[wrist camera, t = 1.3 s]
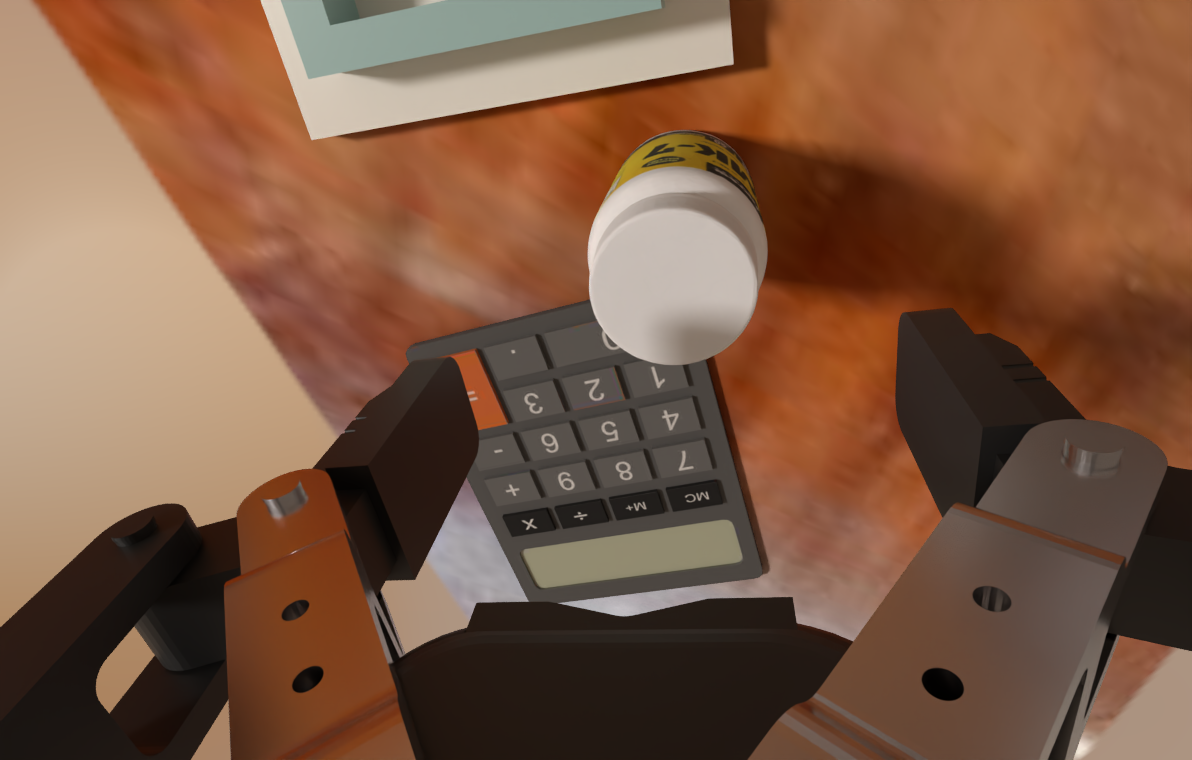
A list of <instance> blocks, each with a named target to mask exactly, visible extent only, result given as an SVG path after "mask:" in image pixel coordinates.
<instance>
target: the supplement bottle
mask: <svg viewBox="0 0 1192 760" xmlns="http://www.w3.org/2000/svg"><path fill="white" fill-rule="evenodd" d="M767 255H768V246H767V237H766V231H765V227H764V224H763V220H762V217H761V213H760V209H759V205H758V201H757V197H756V194H755V189H754V185H753V181H752V179H751V176H750V174H749V171H748V169H747V167H746V165H745V164H744V162H743V160H742V159H741V158H740V156H739V155H738V154H737V153H736V151H735V150H734V149H733V148H732V147H730V146H729V145H728V144H727V143H725V142H724V141H722V140H721V139H719V138H717V137H715V136H713V135H710V134H707V133H704V132H699V131H693V130H677V131H670V132H666V133H662V134H659V135H657V136H655V137H652V138H651V139H649V140H647V141H646V142H644V143H643V144H641V145H640V146H639V147H638V148H637V149H635V150H634V151H633V153H632V154H631V155H630V156H629V157H628V158H627V160H626V161H625V162H624V164H623V165H622V167H621V168H620V170H619V172H618V174H617V176H616V178H615V180H614V182H613V184H612V186H611V188H610V190H609V192H608V194H607V196H606V198H605V200H604V202H603V203H602V205H601V207H600V209H599V211H598V213H597V215H596V217H595V219H594V222H593V225H592V229H591V232H590V237H589V243H588V265H589V271H590V278H589V293H590V301H591V304H592V308H593V312H594V314H595V316H596V319H597V321H598V323H599V324H600V326H601V327H602V329H603V330H604V332H605V333H606V334H607V335H608V337H609V338H610V339H611V340H612V341H613V342H614V343H615V344H617V345H618V346H619V347H620V348H622V349H623V350H625V351H626V352H628V353H629V354H631V355H633V356H635V357H637V358H639V359H642V360H646V361H649V362H652V363H657V364H663V365H684V364H691V363H695V362H699V361H701V360H704V359H708V358H710V357H712V356H714V355H716V354H718V353H720V352H721V351H723V350H724V349H725V348H727V347H728V346H729V345H731V344H732V343H733V342H734V341H735V340H736V339H737V338H738V337H739V336H740V334H741V333H742V332H743V331H744V329H745V328H746V326H747V324H748V323H749V321H750V319H751V317H752V315H753V312H754V309H755V306H756V302H757V298H758V290H759V288H760V286H761V283H762V280H763V277H764V274H765V269H766V264H767Z"/></svg>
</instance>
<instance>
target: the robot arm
mask: <svg viewBox="0 0 1192 760" xmlns="http://www.w3.org/2000/svg"><path fill="white" fill-rule="evenodd" d="M895 397H896V411H897V417H898V421H899V425H900V428H901V431H902V433H903V435H904V437H905V439H906V441H907V444H908V446H909V448H910V450H911V452H912V454H913V456H914V458H915V460H916V463H917V465H918V467H919V469H920V471H921V473H922V475H923V477H924V479H925V482H926V484H927V486H928V488H929V490H930V492H931V494H932V496H933V498H934V501H935V503H936V505H937V507H938V509H939V511H940V513H941V515H942V520H941V521H940V523H939V524H938V525H937V527H936V528H935V529H934V531H933V532H932V534H931V535H930V536H929V538H928V539H927V541H926V542H925V543H924V545H923V546H922V547H921V549H920V550H919V552H918V553H917V554H916V556H915V557H914V559H913V560H912V561H911V563H910V564H909V565H908V567H907V568H906V570H905V571H904V572H903V574H902V575H901V577H900V578H899V579H898V581H897V582H896V583H895V585H894V586H893V588H892V589H891V590H890V592H889V593H888V594H887V596H886V597H885V599H884V600H883V601H882V603H881V604H880V606H879V607H878V608H877V610H876V611H875V612H874V614H873V615H872V617H871V618H870V619H869V621H868V622H867V624H866V625H865V626H864V628H863V629H862V630H861V632H860V633H859V635H858V636H857V637H856V639H855V640H854V642H853V641H851V640H848V639H846V638H843V637H841V636H839V635H836V634H834V633H831V632H827V631H824V630H821V629H818V628H814V627H811V626H806V625H802V624H797V623H796V616H795V610H794V603H793V597H772V598H716V599H705V600H701V601H696V602H692V603H687V604H683V605H678V606H674V607H669V608H665V609H660V610H656V611H651V612H647V613H643V614H638V615H634V616H615V615H610V614H606V613H601V612H596V611H591V610H587V609H582V608H577V607H572V606H568V605H563V604H558V603H553V602H549V601H548V602H492V603H476V606H475V608H474V611H473V614H472V616H471V619H470V622H469V624H468V627H467V628H465V629H461V630H457V631H454V632H451V633H448V634H445V635H442V636H440V637H438V638H435V639H433V640H431V641H429V642H427V643H424V644H422V645H421V646H419V647H417V648H415V649H413V650H411V651H410V652H408V653H406V654H405V652H404V650H403V646H402V644H401V641H400V638H399V636H398V633H397V630H396V627H395V625H394V622H393V619H392V616H391V614H390V611H389V608H388V605H387V603H386V601H385V598H384V596H383V594H382V592H381V588H382V586H383V585H384V583H385V581H387V580H415V579H416V577H417V575H418V573H419V571H420V569H421V567H422V565H423V563H424V561H425V559H426V557H427V555H428V553H429V551H430V549H431V547H432V545H433V543H434V541H435V539H436V537H437V535H438V533H439V531H440V529H441V527H442V525H443V523H444V521H445V519H446V517H447V515H448V513H449V511H450V509H451V507H452V505H453V503H454V501H455V499H456V497H457V495H458V493H459V491H460V489H461V487H462V485H463V483H464V481H465V479H466V477H467V475H468V473H469V471H470V469H471V467H472V465H473V463H474V461H475V459H476V456H477V453H478V448H479V433H478V427H477V423H476V420H475V416H474V413H473V410H472V407H471V403H470V400H469V397H468V393H467V390H466V387H465V384H464V380H463V377H462V374H461V371H460V368H459V366H458V363H457V362H456V360H455V359H454V358H452V357H442V358H432V359H422V360H414V361H412V362H411V363H410V364H409V365H408V366H407V368H406V369H405V370H404V371H403V373H402V374H401V375H400V376H399V377H398V379H397V380H396V381H395V382H394V384H393V385H392V386H391V387H389V388H388V389H386V390H385V391H383V392H382V393H380V394H379V395H378V396H376V397H375V398H373V399H372V400H370V401H369V402H368V403H367V404H366V405H365V407H364V408H363V409H362V410H361V411H360V413H359V414H358V415H357V416H356V420H353V421H352V422H351V423H350V424H349V426H348V427H347V428H346V429H345V433H343V434H341V435H340V436H339V438H338V439H337V440H336V441H335V442H334V444H333V445H332V446H331V447H330V448H329V450H328V451H327V452H326V453H325V454H324V455H323V457H322V458H321V459H320V460H319V461H318V463H317V464H316V465H315V466H314V467H313V468H312V469H302V470H297V471H293V472H289V473H286V474H283V475H281V476H278V477H276V478H274V479H272V480H270V481H268V482H266V483H264V484H263V485H261V486H260V487H258V488H257V489H255V490H254V491H253V492H251V494H249V496H247V497H246V498H245V499H244V500H243V502H242V503H241V505H240V506H239V508H238V511H237V517H235V518H231V519H228V520H224V521H220V522H216V523H213V524H209V525H205V526H201V527H196V525H195V523H194V522H193V520H192V518H191V517H190V515H189V513H188V512H187V510H186V508H185V507H183V506H182V505H179V504H162V505H157V506H153V507H150V508H147V509H144V510H141V511H139V512H136V513H134V514H132V515H130V516H128V517H126V518H124V519H122V520H120V521H118V522H117V523H115V524H114V525H112V526H111V527H109V528H108V529H107V530H105V531H104V532H102V533H101V534H100V535H99V536H98V537H97V538H95V539H94V540H93V541H92V542H91V543H90V544H89V545H88V546H87V547H86V548H85V549H84V550H83V551H82V552H80V553H79V554H78V555H77V556H76V557H75V558H74V559H73V560H72V561H71V562H70V563H69V564H68V565H67V566H66V567H64V568H63V569H62V570H61V571H60V572H59V573H58V574H57V575H56V576H55V577H54V578H53V579H52V580H51V581H49V582H48V583H47V584H46V585H45V586H44V587H43V588H42V589H41V590H40V591H39V592H38V593H37V594H36V595H35V596H34V597H33V598H31V599H30V600H29V601H28V602H27V603H26V604H25V605H24V606H23V607H22V608H21V609H20V610H18V611H17V613H15V614H14V615H13V616H12V617H11V618H10V619H9V620H8V621H7V622H6V623H5V624H3V626H2V627H0V760H191V758H192V757H193V755H194V753H195V752H196V750H197V749H198V747H199V745H200V744H201V742H202V741H203V739H204V737H205V735H206V734H207V732H208V731H209V729H210V728H211V726H212V724H213V723H214V721H215V720H216V718H217V717H218V715H219V713H220V712H221V710H222V709H223V707H224V705H225V704H226V702H227V701H229V724H230V749H231V760H1073V758H1074V755H1075V753H1076V750H1077V747H1078V744H1079V741H1080V739H1081V736H1082V733H1083V731H1084V728H1085V726H1086V723H1087V720H1088V718H1089V715H1090V712H1091V710H1092V707H1093V705H1094V702H1095V699H1096V697H1097V694H1098V692H1099V689H1100V686H1101V684H1102V681H1103V678H1104V676H1105V673H1106V671H1107V668H1108V665H1109V663H1110V660H1111V658H1112V655H1113V652H1114V650H1115V647H1116V644H1117V642H1118V639H1119V636H1125V637H1129V638H1134V639H1139V640H1143V641H1148V642H1152V643H1157V644H1161V645H1166V646H1171V647H1175V648H1180V649H1184V650H1189V651H1192V470H1188V469H1181V468H1176V467H1171V466H1167V465H1168V462H1167V458H1166V456H1165V454H1164V453H1163V451H1162V450H1161V449H1160V448H1159V447H1158V446H1157V445H1156V444H1154V443H1153V442H1152V441H1150V440H1149V439H1147V438H1146V437H1144V436H1142V435H1140V434H1138V433H1136V432H1134V431H1131V430H1129V429H1126V428H1123V427H1120V426H1117V425H1113V424H1109V423H1104V422H1099V421H1092V420H1086V419H1085V418H1084V417H1083V416H1082V415H1081V414H1080V413H1079V412H1078V411H1077V409H1076V408H1075V407H1074V406H1073V405H1072V404H1071V403H1070V402H1069V401H1068V400H1067V399H1066V398H1065V397H1064V396H1063V394H1062V393H1061V392H1060V391H1059V390H1058V389H1057V388H1056V387H1055V386H1054V385H1053V384H1052V383H1051V382H1050V381H1047V380H1046V376H1045V375H1044V374H1043V373H1042V372H1041V371H1040V370H1039V369H1038V368H1037V367H1036V366H1035V367H1034V366H1033V362H1032V361H1031V360H1030V359H1029V358H1028V357H1027V356H1026V355H1025V354H1024V353H1023V352H1022V351H1021V349H1020V348H1019V347H1018V346H1016V345H1014V344H1012V343H1010V342H1007V341H1005V340H1003V339H1001V338H999V337H997V336H995V335H993V334H991V333H987V334H976V335H975V334H974V333H973V332H972V330H971V329H970V328H969V327H968V326H967V324H966V323H965V322H964V321H963V320H962V318H961V317H960V316H959V315H958V314H957V312H956V311H955V310H954V309H953V308H945V309H934V310H924V311H914V312H904V313H902V315H901V317H900V320H899V328H898V349H897V371H896V396H895ZM133 627H135V628H136V629H137V631H138V632H139V634H140V635H141V636H142V638H143V639H144V641H145V642H146V643H147V645H148V646H149V647H150V649H151V650H152V652H153V653H154V654H155V656H154V657H153V659H152V660H151V661H150V662H149V664H148V665H147V666H146V667H145V669H144V670H143V671H142V673H141V674H140V675H139V676H138V678H137V679H136V680H135V682H134V683H133V684H132V686H131V687H130V688H129V689H128V691H127V692H126V693H125V694H124V696H123V697H122V698H121V700H120V701H119V702H118V703H117V705H116V706H115V707H114V709H113V710H112V711H111V712H110V714H109V713H108V712H107V710H106V709H105V708H104V707H103V705H102V704H101V703H100V701H99V700H98V697H97V694H96V679H97V675H98V672H99V670H100V668H101V666H102V664H103V663H104V661H105V660H106V659H107V657H108V656H109V655H110V654H111V653H112V652H113V650H114V649H115V648H116V647H117V645H118V644H119V643H120V642H121V641H122V640H123V639H124V637H125V636H126V635H127V634H128V633H129V632H130V630H131V629H132V628H133Z"/></svg>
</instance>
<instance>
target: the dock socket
mask: <svg viewBox="0 0 1192 760" xmlns="http://www.w3.org/2000/svg"><path fill="white" fill-rule="evenodd" d="M261 3H262V5H263V8H264V11H265V14H266V16H267V19H268V22H269V25H270V27H271V30H272V33H273V36H274V38H275V41H276V44H277V47H278V49H279V52H280V55H281V58H282V60H283V63H284V66H285V68H286V71H287V74H288V77H289V79H290V82H291V85H292V88H293V90H294V93H295V96H296V99H297V101H298V104H299V107H300V110H301V112H302V115H303V118H304V121H305V123H306V126H307V129H308V132H309V134H310V137H311V140H315V139H320V138H326V137H331V136H337V135H343V134H348V133H354V132H359V131H365V130H370V129H376V128H382V127H387V126H393V125H398V124H404V123H409V122H415V121H421V120H426V119H432V118H437V117H443V116H448V115H454V114H460V113H465V112H471V111H476V110H482V109H487V108H493V107H499V106H504V105H510V104H515V103H521V102H527V101H532V100H538V99H543V98H549V97H554V96H560V95H566V94H571V93H577V92H582V91H588V90H593V89H599V88H605V87H610V86H616V85H621V84H627V83H632V82H638V81H644V80H649V79H655V78H660V77H666V76H671V75H677V74H683V73H688V72H694V71H699V70H705V69H710V68H716V67H722V66H727V65H733V64H734V62H733V47H732V33H731V18H730V4H729V0H261Z"/></svg>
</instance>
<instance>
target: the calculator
mask: <svg viewBox="0 0 1192 760" xmlns="http://www.w3.org/2000/svg"><path fill="white" fill-rule="evenodd" d="M406 357H407V360H408V362H409V364H410V363H411V362H412V361H414V360H422V359H432V358H442V357H452V358H454V359H455V360H456V362H457V363H458V366H459V368H460V371H461V374H462V377H463V380H464V384H465V387H466V390H467V393H468V397H469V400H470V403H471V407H472V410H473V413H474V416H475V420H476V423H477V427H478V433H479V448H478V453H477V456H476V459H475V461H474V463H473V465H472V467H471V469H470V471H469V473H468V475H467V479H468V481H469V483H470V485H471V487H472V489H473V491H474V493H475V495H476V497H477V499H478V501H479V503H480V505H481V507H482V509H483V511H484V513H485V515H486V517H487V519H488V521H489V523H490V525H491V527H492V529H493V531H494V533H495V535H496V537H497V539H498V541H499V543H500V545H501V547H502V549H503V551H504V553H505V555H506V557H507V559H508V561H509V563H510V565H511V567H512V569H513V571H514V573H515V575H516V577H517V579H518V581H519V583H520V585H521V587H522V589H523V591H524V593H525V595H526V597H527V599H528V600H529V602H548V601H549V602H553V603H562V602H570V601H578V600H586V599H594V598H602V597H610V596H618V595H626V594H634V593H642V592H650V591H658V590H666V589H674V588H682V587H690V586H698V585H707V584H715V583H723V582H731V581H739V580H747V579H754V578H758V577H760V576H761V575H762V564H761V560H760V557H759V553H758V549H757V545H756V542H755V538H754V534H753V531H752V527H751V523H750V520H749V516H748V512H747V509H746V505H745V501H744V497H743V494H742V490H741V486H740V483H739V479H738V475H737V472H736V468H735V464H734V461H733V457H732V453H731V450H730V446H729V442H728V438H727V435H726V431H725V427H724V424H723V420H722V416H721V413H720V409H719V405H718V402H717V398H716V394H715V390H714V387H713V383H712V379H711V376H710V372H709V368H708V365H707V361H706V359H704V360H701V361H699V362H695V363H691V364H684V365H663V364H657V363H652V362H649V361H646V360H642V359H639V358H637V357H635V356H633V355H631V354H629V353H628V352H626V351H625V350H623V349H622V348H620V347H619V346H618V345H617V344H615V343H614V342H613V341H612V340H611V339H610V338H609V337H608V335H607V334H606V333H605V332H604V330H603V329H602V327H601V326H600V324H599V323H598V321H597V319H596V316H595V314H594V312H593V308H592V304H591V301H590V300H586V301H582V302H578V303H574V304H570V305H566V306H562V307H558V308H555V309H551V310H547V311H543V312H539V313H535V314H531V315H527V316H523V317H519V318H515V319H511V320H507V321H503V322H499V323H495V324H491V325H487V326H483V327H479V328H475V329H471V330H467V331H463V332H459V333H455V334H451V335H447V336H443V337H439V338H435V339H431V340H427V341H423V342H419V343H415V344H413V345H411V346H410V347H409V348H408V350H407V352H406Z"/></svg>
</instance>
